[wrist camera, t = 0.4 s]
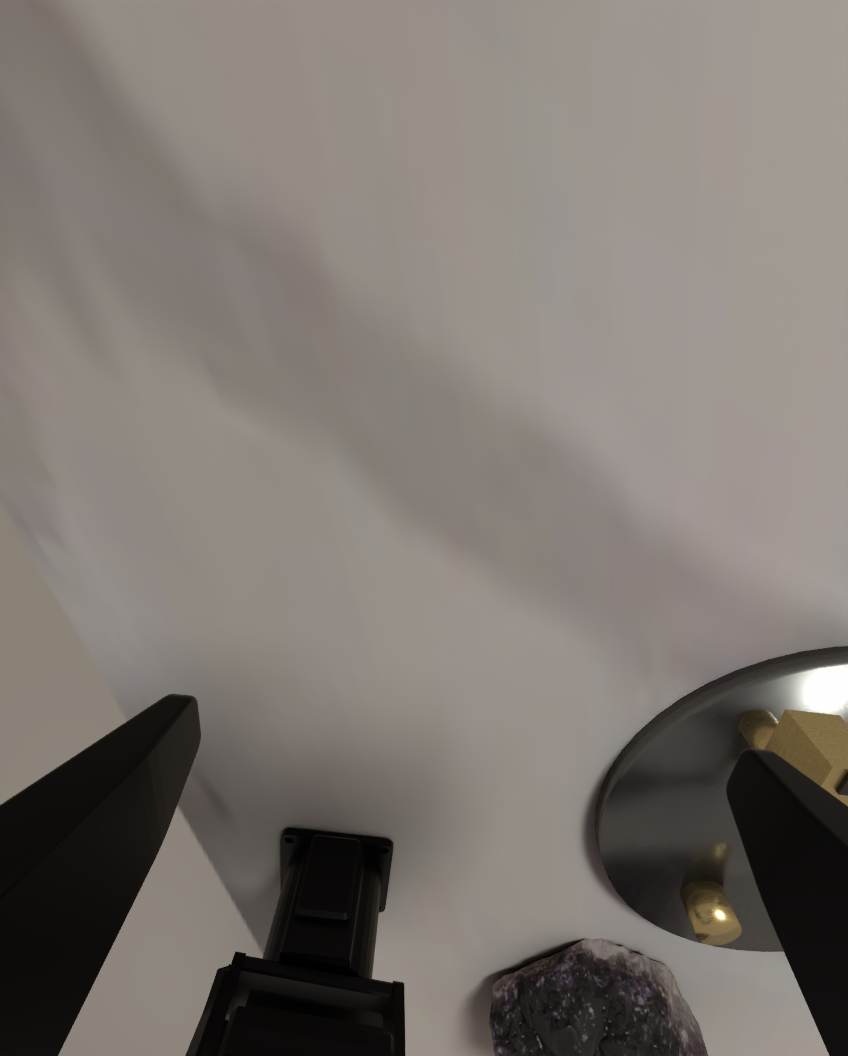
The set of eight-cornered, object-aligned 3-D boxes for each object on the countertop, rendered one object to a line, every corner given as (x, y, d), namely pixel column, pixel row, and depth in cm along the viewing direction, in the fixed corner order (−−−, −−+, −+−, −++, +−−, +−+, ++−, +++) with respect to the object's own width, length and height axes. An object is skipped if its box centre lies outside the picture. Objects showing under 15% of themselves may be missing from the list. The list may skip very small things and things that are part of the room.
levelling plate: (899, 946, 33) (943, 1009, 30) (556, 909, 33) (567, 969, 30) (1135, 674, 24) (1230, 728, 21) (663, 619, 24) (693, 665, 21)
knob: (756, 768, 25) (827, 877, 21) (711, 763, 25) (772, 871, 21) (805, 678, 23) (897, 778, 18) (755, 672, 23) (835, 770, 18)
